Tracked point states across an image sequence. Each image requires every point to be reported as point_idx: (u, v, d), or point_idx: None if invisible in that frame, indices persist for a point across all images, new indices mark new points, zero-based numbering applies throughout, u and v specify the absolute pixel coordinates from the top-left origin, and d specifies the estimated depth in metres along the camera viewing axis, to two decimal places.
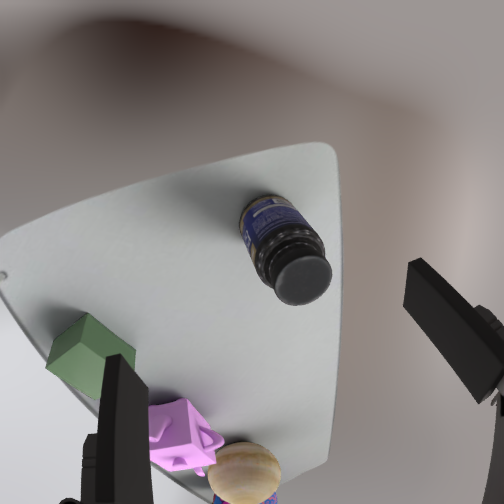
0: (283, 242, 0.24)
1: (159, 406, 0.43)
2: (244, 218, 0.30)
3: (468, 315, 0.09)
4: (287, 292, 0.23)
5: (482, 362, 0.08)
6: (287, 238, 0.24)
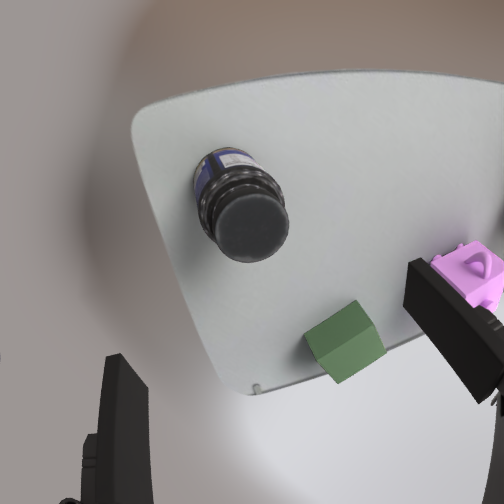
0: (212, 232, 0.21)
1: None
2: None
3: (468, 315, 0.09)
4: (264, 247, 0.20)
5: (482, 362, 0.08)
6: (208, 227, 0.21)
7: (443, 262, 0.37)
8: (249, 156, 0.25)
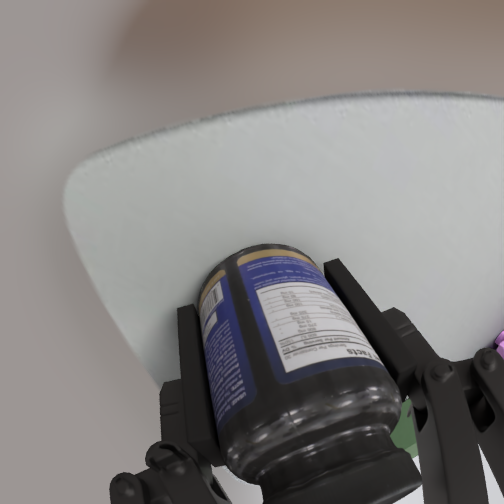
0: (252, 483, 0.08)
1: None
2: None
3: (371, 317, 0.11)
4: None
5: None
6: (244, 480, 0.08)
7: None
8: (316, 275, 0.12)
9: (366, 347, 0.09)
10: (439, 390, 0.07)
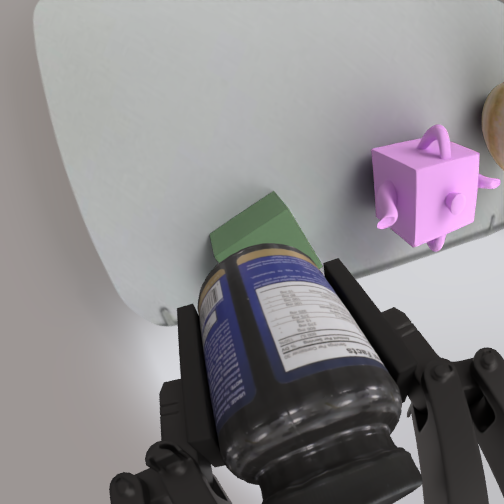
0: (252, 483, 0.08)
1: (375, 187, 0.34)
2: None
3: (371, 317, 0.11)
4: None
5: None
6: None
7: (388, 148, 0.31)
8: (316, 274, 0.12)
9: (366, 346, 0.09)
10: (439, 390, 0.07)
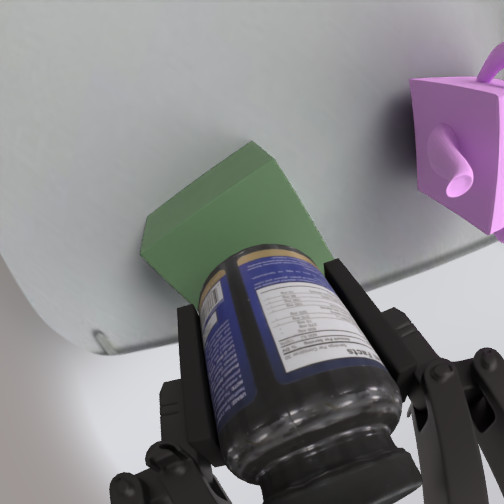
0: None
1: (417, 142, 0.19)
2: None
3: (371, 317, 0.11)
4: None
5: None
6: (244, 480, 0.08)
7: (434, 79, 0.16)
8: (316, 275, 0.12)
9: (366, 347, 0.09)
10: (439, 390, 0.07)
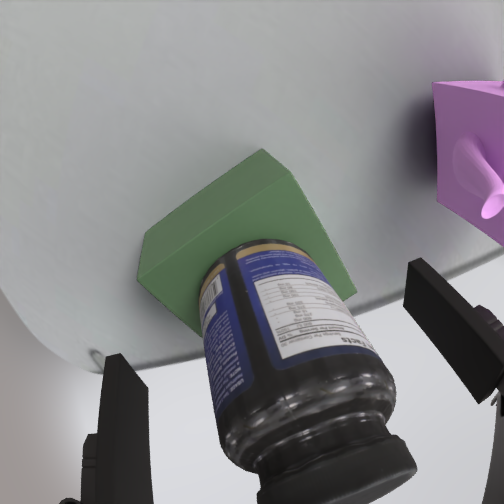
0: (250, 471, 0.08)
1: (439, 150, 0.17)
2: None
3: (468, 315, 0.09)
4: None
5: (482, 362, 0.08)
6: (242, 468, 0.08)
7: (458, 83, 0.14)
8: (312, 268, 0.12)
9: (360, 336, 0.09)
10: None
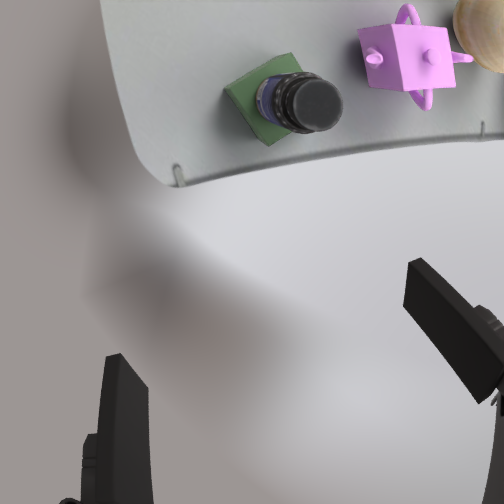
0: (284, 114, 0.26)
1: (365, 60, 0.35)
2: None
3: (468, 315, 0.09)
4: (326, 120, 0.24)
5: (482, 362, 0.08)
6: (281, 110, 0.25)
7: None
8: None
9: None
10: None
